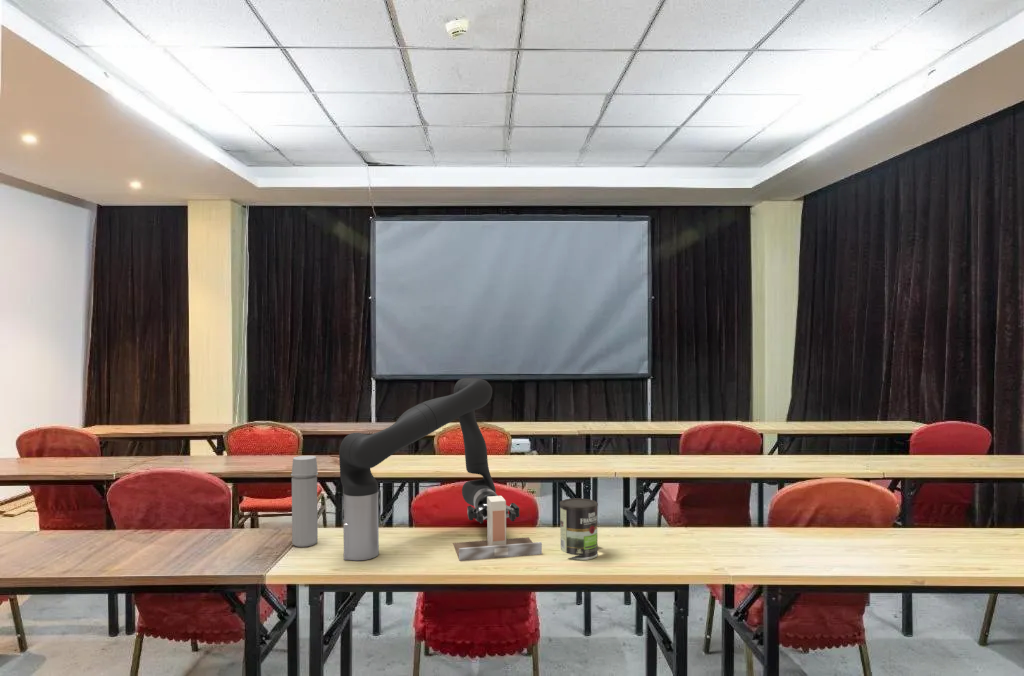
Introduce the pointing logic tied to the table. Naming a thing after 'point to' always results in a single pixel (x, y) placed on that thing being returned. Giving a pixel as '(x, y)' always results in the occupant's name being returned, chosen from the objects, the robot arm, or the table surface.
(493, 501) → the tea box
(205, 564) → the table surface
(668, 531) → the table surface
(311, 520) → the water bottle
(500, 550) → the grey tray
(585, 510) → the coffee can
